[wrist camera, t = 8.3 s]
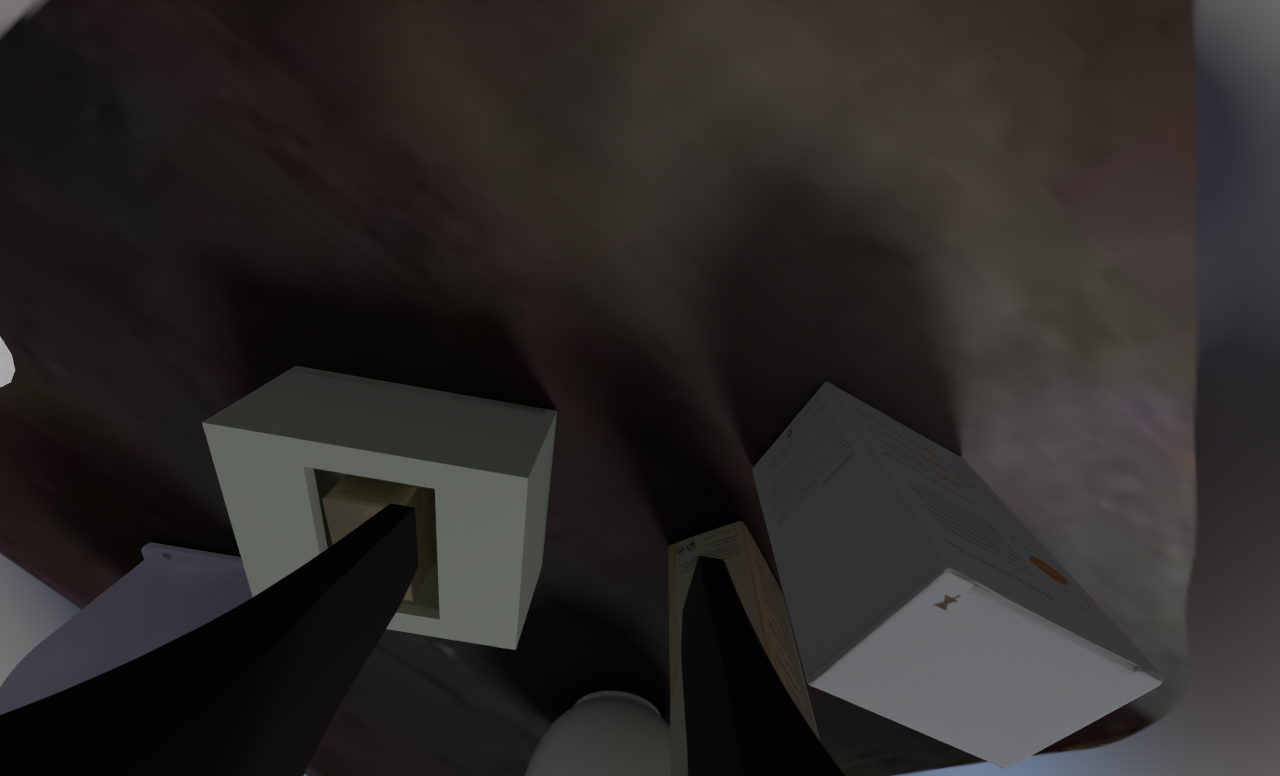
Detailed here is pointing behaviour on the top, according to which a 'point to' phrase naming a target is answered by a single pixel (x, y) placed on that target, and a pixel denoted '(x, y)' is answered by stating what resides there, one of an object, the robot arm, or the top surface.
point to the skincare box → (759, 605)
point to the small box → (932, 590)
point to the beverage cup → (5, 364)
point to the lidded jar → (605, 739)
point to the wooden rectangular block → (369, 496)
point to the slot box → (399, 452)
